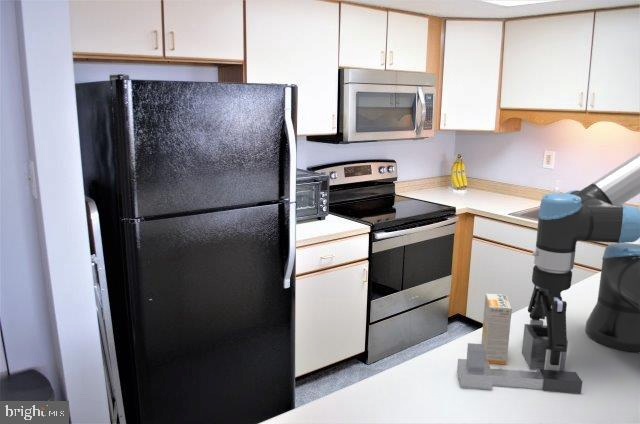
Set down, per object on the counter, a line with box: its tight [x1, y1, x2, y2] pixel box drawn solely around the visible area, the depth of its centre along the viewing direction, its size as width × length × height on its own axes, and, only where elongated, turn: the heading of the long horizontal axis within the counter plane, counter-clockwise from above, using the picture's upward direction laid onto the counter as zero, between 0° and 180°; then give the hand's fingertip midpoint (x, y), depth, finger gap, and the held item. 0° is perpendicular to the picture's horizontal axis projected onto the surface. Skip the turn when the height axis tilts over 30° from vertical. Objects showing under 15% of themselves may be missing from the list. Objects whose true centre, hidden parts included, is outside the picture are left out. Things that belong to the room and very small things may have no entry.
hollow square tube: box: [521, 323, 569, 371], centre depth 111 cm, size 7×7×7 cm
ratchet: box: [456, 342, 583, 395], centre depth 103 cm, size 23×6×7 cm, turn 82°
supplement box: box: [480, 293, 513, 365], centre depth 114 cm, size 8×5×13 cm, turn 168°
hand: (541, 361), depth 112 cm, fingers open, 12 cm apart
